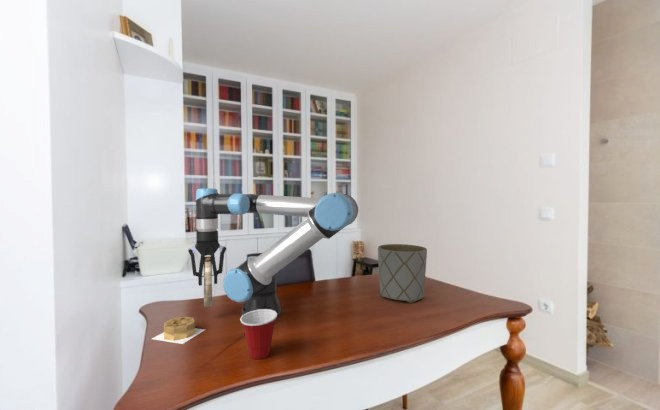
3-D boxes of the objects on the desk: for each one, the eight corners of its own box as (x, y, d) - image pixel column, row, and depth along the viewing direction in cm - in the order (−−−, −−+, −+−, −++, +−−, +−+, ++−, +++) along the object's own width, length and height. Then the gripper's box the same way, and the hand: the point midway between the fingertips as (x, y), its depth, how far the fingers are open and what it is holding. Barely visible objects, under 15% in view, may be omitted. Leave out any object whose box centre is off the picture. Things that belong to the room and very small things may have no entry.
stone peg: (213, 304, 118) (213, 256, 117) (209, 306, 115) (208, 258, 115) (207, 303, 119) (206, 256, 118) (202, 306, 116) (201, 257, 115)
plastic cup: (234, 352, 95) (234, 313, 94) (267, 343, 101) (267, 306, 101) (248, 368, 86) (248, 325, 86) (283, 356, 93) (283, 316, 92)
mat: (205, 332, 109) (205, 329, 108) (182, 347, 98) (182, 343, 98) (176, 328, 112) (176, 325, 112) (151, 341, 101) (151, 338, 101)
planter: (431, 294, 154) (432, 246, 154) (417, 307, 135) (418, 253, 134) (388, 286, 166) (388, 242, 166) (369, 298, 147) (370, 248, 147)
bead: (199, 330, 108) (199, 318, 108) (180, 341, 99) (180, 329, 99) (178, 327, 110) (177, 315, 110) (157, 338, 102) (157, 325, 102)
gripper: (228, 228, 123) (229, 288, 123) (183, 230, 116) (184, 293, 117) (230, 230, 116) (231, 293, 117) (183, 232, 110) (184, 299, 110)
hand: (208, 293), depth 117 cm, fingers closed on stone peg, 3 cm apart
